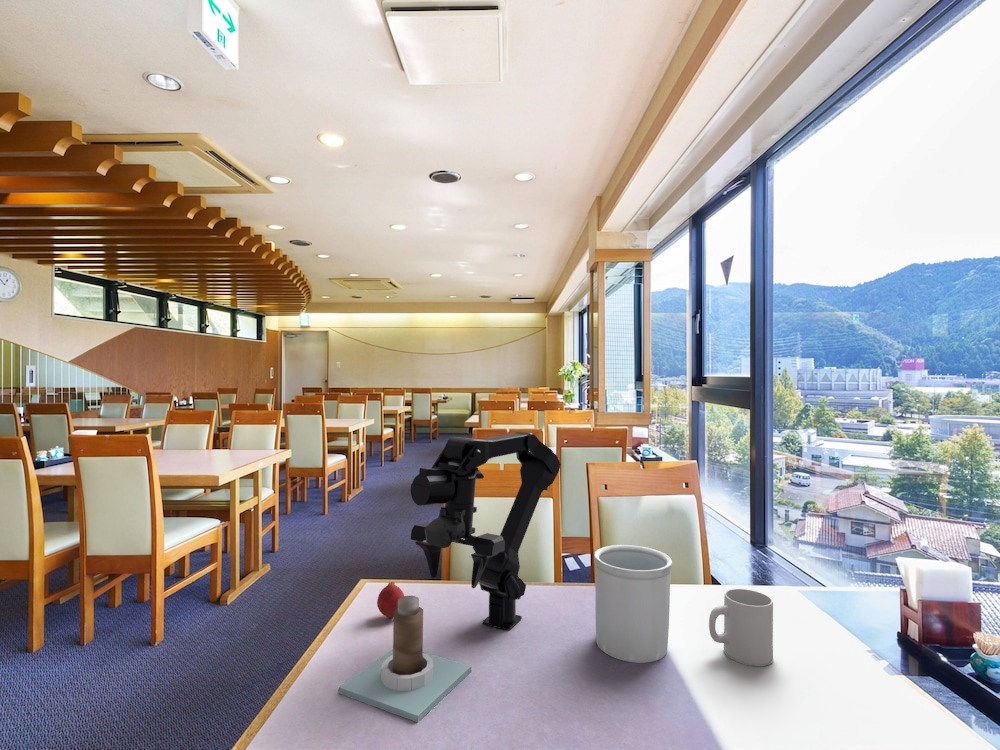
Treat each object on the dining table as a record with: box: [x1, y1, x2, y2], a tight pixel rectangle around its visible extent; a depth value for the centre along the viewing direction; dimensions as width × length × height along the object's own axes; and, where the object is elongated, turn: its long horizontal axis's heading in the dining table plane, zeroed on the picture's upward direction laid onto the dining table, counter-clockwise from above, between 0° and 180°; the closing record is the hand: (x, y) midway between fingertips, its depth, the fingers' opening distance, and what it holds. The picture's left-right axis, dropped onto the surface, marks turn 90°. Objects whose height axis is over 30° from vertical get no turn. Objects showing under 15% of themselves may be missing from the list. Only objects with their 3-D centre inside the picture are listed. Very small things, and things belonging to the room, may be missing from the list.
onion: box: [376, 579, 405, 619], centre depth 116 cm, size 6×6×8 cm
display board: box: [337, 648, 472, 723], centre depth 92 cm, size 16×16×3 cm
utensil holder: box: [593, 544, 673, 664], centre depth 105 cm, size 15×15×18 cm
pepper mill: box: [392, 595, 424, 675], centre depth 92 cm, size 5×5×13 cm
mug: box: [708, 588, 774, 667], centre depth 102 cm, size 12×8×11 cm
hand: (453, 582), depth 105 cm, fingers open, 9 cm apart
